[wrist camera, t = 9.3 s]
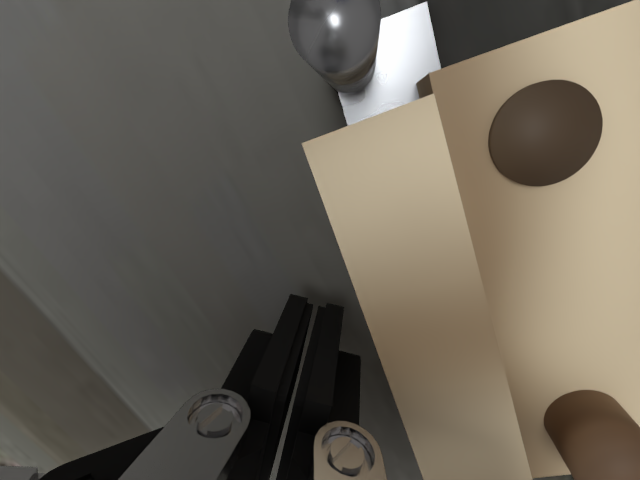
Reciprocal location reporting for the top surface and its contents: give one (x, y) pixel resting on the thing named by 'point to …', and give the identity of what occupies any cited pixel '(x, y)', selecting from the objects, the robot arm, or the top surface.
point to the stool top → (558, 230)
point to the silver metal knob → (365, 51)
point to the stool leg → (421, 289)
